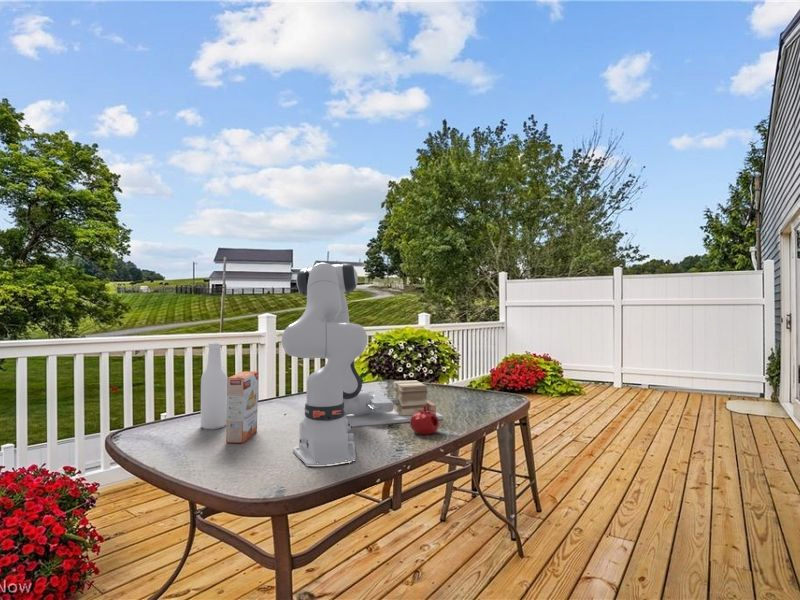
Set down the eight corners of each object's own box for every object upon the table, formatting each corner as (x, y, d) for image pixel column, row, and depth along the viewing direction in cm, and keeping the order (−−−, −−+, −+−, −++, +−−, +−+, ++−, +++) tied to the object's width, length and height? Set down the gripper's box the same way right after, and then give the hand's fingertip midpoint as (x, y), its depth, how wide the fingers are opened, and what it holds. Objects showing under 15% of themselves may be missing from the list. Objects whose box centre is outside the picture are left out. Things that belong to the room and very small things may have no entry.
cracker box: (244, 443, 145) (244, 377, 144) (225, 443, 145) (225, 377, 145) (258, 431, 159) (259, 370, 158) (241, 430, 159) (241, 370, 159)
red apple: (410, 436, 154) (410, 409, 154) (410, 428, 164) (410, 402, 164) (439, 437, 154) (439, 409, 154) (437, 428, 164) (438, 402, 164)
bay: (442, 419, 176) (442, 405, 176) (351, 426, 165) (351, 412, 165) (424, 407, 195) (424, 395, 195) (340, 413, 184) (340, 400, 184)
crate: (427, 413, 178) (427, 385, 178) (402, 415, 175) (402, 387, 175) (416, 406, 190) (416, 380, 190) (392, 408, 187) (392, 381, 187)
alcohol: (204, 423, 167) (204, 341, 167) (229, 422, 169) (229, 341, 169) (197, 430, 159) (198, 344, 158) (224, 429, 160) (225, 343, 160)
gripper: (370, 400, 167) (406, 398, 171) (357, 389, 186) (390, 387, 191) (370, 417, 167) (405, 414, 171) (357, 404, 186) (390, 402, 191)
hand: (397, 400), depth 181 cm, fingers closed, pressing on crate
